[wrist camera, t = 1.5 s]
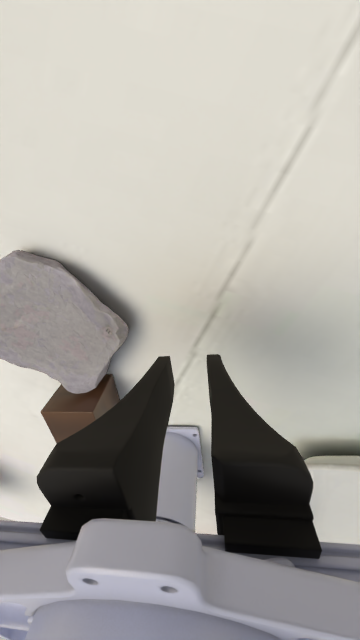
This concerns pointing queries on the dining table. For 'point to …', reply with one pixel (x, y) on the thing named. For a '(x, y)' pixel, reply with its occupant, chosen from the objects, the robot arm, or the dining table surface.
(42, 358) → the stone block
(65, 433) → the walnut cube
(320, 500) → the square plate
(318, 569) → the robot arm
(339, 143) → the dining table surface
